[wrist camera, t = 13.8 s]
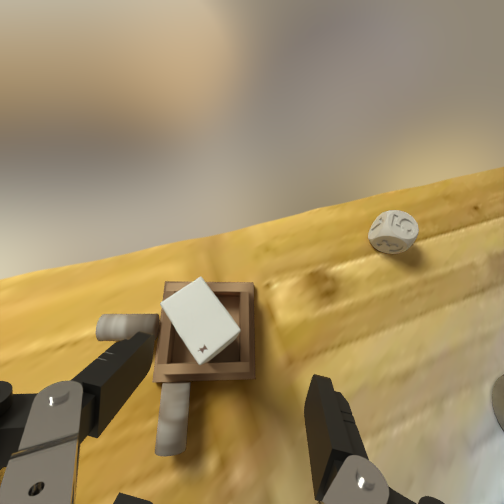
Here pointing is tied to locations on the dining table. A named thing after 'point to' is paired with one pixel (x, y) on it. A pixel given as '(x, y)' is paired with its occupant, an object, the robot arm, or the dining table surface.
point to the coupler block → (188, 356)
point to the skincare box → (201, 320)
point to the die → (393, 232)
